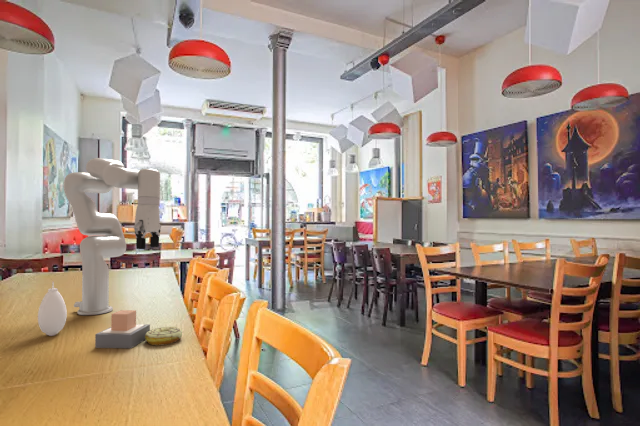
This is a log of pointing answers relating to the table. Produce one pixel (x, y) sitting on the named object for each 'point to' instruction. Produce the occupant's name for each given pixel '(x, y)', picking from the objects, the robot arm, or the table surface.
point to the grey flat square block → (121, 337)
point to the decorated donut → (163, 335)
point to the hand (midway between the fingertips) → (147, 247)
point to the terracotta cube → (123, 320)
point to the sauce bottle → (52, 312)
